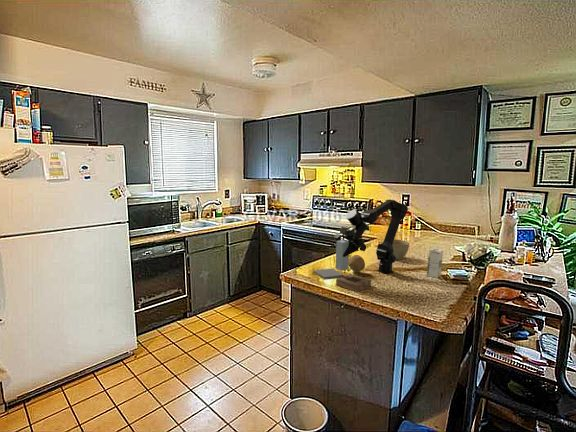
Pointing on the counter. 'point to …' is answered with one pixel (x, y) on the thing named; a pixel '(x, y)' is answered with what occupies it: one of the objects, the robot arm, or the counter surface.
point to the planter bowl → (400, 248)
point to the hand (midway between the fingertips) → (340, 255)
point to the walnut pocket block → (353, 282)
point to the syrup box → (434, 263)
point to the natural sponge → (356, 263)
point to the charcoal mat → (328, 273)
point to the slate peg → (341, 255)
